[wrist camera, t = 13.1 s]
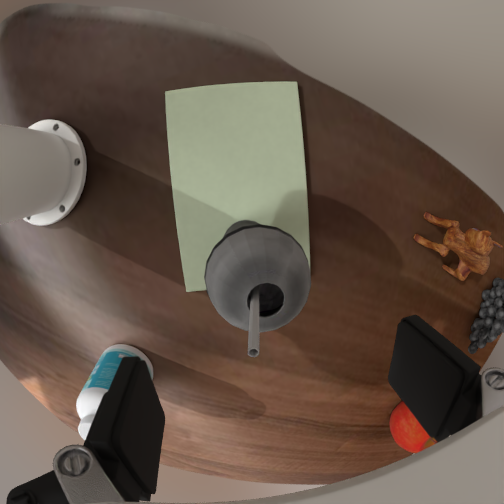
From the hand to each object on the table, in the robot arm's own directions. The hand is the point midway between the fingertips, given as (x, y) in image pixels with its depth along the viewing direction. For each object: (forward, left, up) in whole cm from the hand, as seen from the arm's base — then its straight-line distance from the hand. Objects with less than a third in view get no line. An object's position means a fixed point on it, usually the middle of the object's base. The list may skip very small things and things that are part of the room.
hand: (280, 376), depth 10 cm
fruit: (+40, -16, -23) cm, 49 cm away
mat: (0, +6, -23) cm, 24 cm away
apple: (+27, -34, -23) cm, 50 cm away
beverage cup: (0, 0, -23) cm, 23 cm away
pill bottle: (-17, -15, -23) cm, 32 cm away
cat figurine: (+29, -4, -23) cm, 37 cm away
